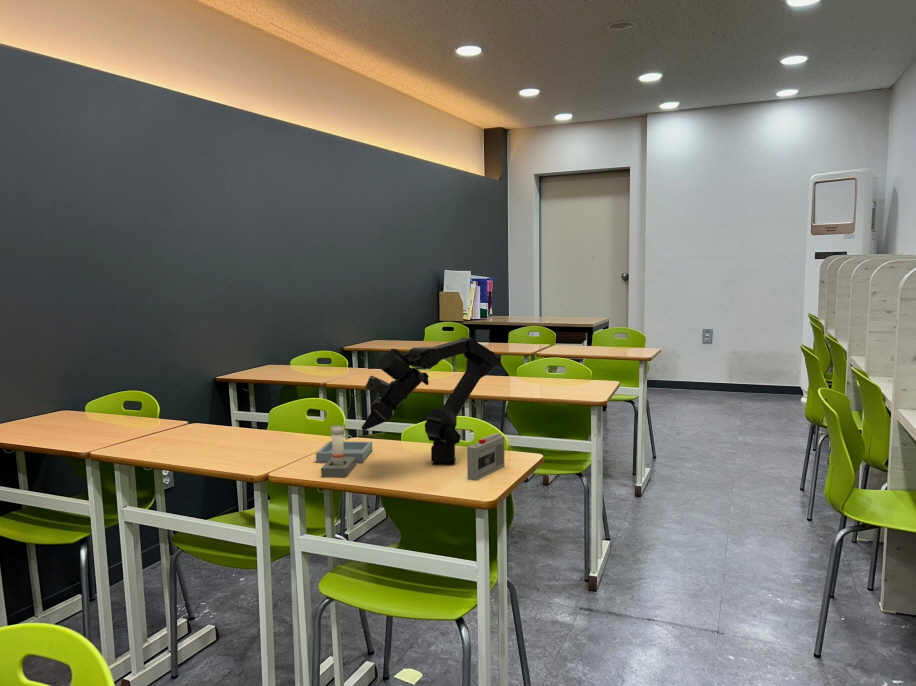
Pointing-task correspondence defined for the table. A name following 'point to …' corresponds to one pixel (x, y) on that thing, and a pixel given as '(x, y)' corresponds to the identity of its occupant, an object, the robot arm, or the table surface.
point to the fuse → (337, 445)
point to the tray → (346, 451)
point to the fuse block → (338, 468)
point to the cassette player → (485, 457)
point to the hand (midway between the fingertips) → (364, 425)
